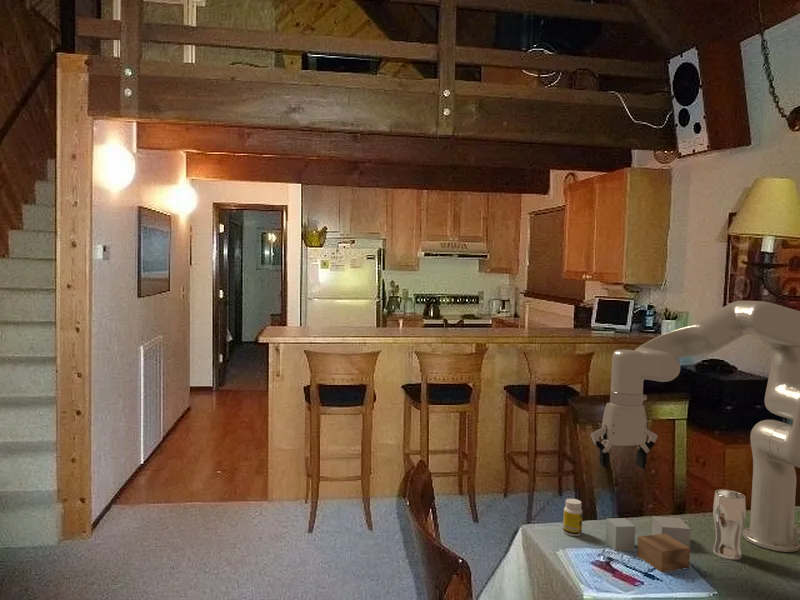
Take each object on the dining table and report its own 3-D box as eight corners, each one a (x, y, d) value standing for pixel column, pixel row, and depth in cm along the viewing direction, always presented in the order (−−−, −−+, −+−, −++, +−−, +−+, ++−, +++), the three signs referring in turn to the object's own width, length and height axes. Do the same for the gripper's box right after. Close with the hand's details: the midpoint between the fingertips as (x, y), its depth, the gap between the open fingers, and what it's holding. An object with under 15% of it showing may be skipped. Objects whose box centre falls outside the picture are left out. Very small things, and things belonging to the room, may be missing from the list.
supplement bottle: (582, 537, 150) (583, 505, 149) (563, 535, 150) (564, 503, 150) (580, 530, 154) (581, 498, 154) (562, 528, 155) (563, 497, 155)
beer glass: (739, 550, 145) (742, 491, 145) (746, 563, 139) (749, 501, 138) (708, 545, 147) (711, 487, 147) (713, 557, 141) (716, 496, 140)
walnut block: (664, 553, 142) (665, 533, 142) (689, 569, 135) (690, 548, 135) (637, 557, 140) (637, 536, 140) (661, 573, 132) (662, 551, 132)
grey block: (679, 536, 153) (679, 517, 153) (689, 548, 146) (690, 528, 146) (651, 534, 153) (652, 516, 153) (661, 546, 146) (662, 526, 146)
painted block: (623, 541, 148) (624, 518, 148) (634, 550, 143) (635, 526, 143) (605, 541, 148) (606, 518, 148) (615, 550, 143) (616, 526, 143)
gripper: (650, 397, 150) (646, 462, 150) (586, 395, 147) (583, 462, 148) (667, 402, 142) (663, 472, 143) (600, 401, 140) (597, 472, 140)
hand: (622, 467), depth 145 cm, fingers open, 9 cm apart
